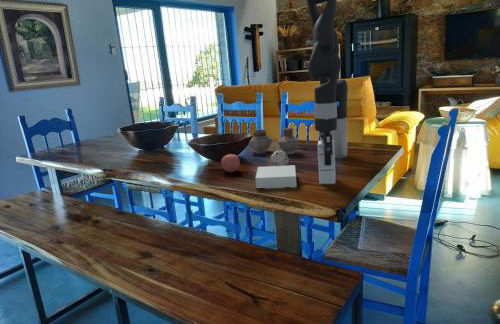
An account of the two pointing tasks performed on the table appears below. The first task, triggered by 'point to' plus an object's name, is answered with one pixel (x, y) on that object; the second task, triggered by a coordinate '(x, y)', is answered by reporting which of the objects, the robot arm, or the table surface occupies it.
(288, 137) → the pottery
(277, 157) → the game die
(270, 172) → the stand
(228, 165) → the apple
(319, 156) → the syrup box
